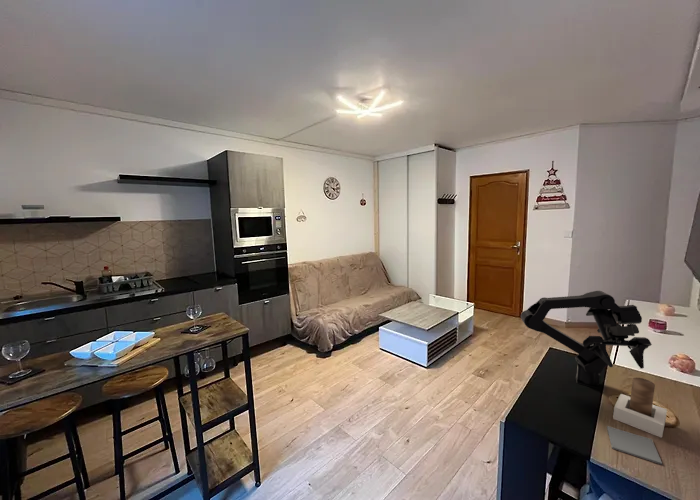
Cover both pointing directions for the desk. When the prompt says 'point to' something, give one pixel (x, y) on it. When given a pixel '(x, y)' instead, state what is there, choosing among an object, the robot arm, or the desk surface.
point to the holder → (640, 417)
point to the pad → (633, 444)
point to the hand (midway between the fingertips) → (626, 367)
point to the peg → (642, 396)
